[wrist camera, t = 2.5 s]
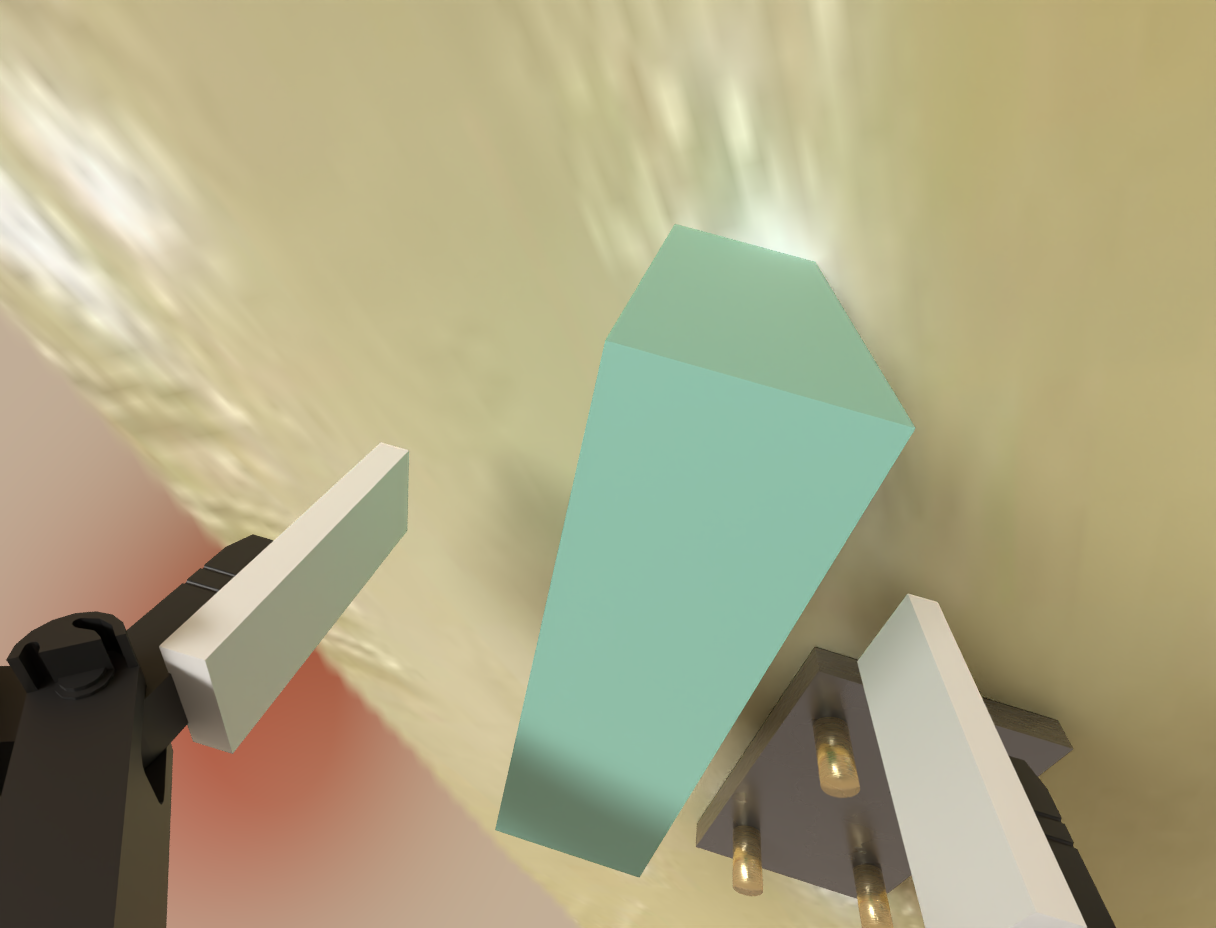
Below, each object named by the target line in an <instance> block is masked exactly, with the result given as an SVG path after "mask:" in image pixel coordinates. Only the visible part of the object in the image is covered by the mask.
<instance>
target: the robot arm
mask: <svg viewBox="0 0 1216 928" xmlns="http://www.w3.org/2000/svg"><path fill="white" fill-rule="evenodd" d="M408 471H409V450H406V449H403V448H399V447H396V446H392V445H389V444H385V443H382V442H380V443H379V444H378V445H377V446H376V447H375V448H374V449H373V450H372V451H371V452H370V453H368V454H367V455H366V456H365V457H364V458H363V459H362V460H361V461H360V462H359V463H358V464H356V465H355V466H354V467H353V468H352V469H351V470H350V471H349V472H348V473H347V474H346V475H345V476H343V477H342V478H341V479H340V480H339V481H338V482H337V483H336V484H335V485H334V486H333V487H331V488H330V489H329V490H328V491H327V492H326V493H325V494H324V495H323V496H322V497H321V498H320V499H318V500H317V501H316V502H315V503H314V504H313V505H312V506H311V507H310V508H309V509H308V510H306V511H305V512H304V513H303V514H302V515H301V516H300V517H299V518H298V519H297V520H296V521H294V522H293V523H292V524H291V525H290V526H289V527H288V528H287V529H286V530H285V531H284V532H283V533H281V534H280V535H279V536H278V537H277V538H276V539H275V540H274V541H273V540H270V539H267V538H263V537H260V536H256V535H250V536H248V537H246V538H244V539H242V540H240V541H238V542H235V543H233V544H231V545H229V546H227V547H225V548H224V549H223V550H221V551H220V552H219V553H218V554H217V555H216V556H214V557H213V558H212V559H211V560H210V561H208V562H207V563H206V564H205V565H204V568H203V569H201V568H200V569H199V570H198V571H197V572H195V573H194V574H193V575H192V576H191V577H189V578H188V579H187V582H186V583H185V584H181V585H180V586H179V587H178V588H177V589H175V590H174V591H173V592H172V593H170V594H169V595H168V596H167V597H166V598H165V599H163V600H162V601H161V602H160V603H159V604H157V605H156V606H155V607H154V608H153V609H152V610H150V611H149V612H148V613H147V614H146V615H144V616H143V617H142V618H141V619H140V620H138V621H137V622H136V623H135V624H134V625H133V626H131V627H130V628H129V629H128V630H127V631H126V629H125V626H124V624H123V622H122V621H120V620H119V619H118V618H116V617H115V616H114V615H111V614H106V613H101V612H85V613H75V614H71V615H68V616H65V617H62V618H58V619H55V620H52V621H50V622H48V623H46V624H44V625H42V626H40V627H38V628H37V629H35V630H33V631H31V632H30V633H29V634H28V635H27V636H25V637H24V638H23V639H22V640H20V641H19V642H18V643H17V644H16V645H15V646H14V648H13V649H12V651H11V653H10V654H9V656H8V658H7V661H8V663H9V665H10V666H0V928H166V919H167V917H166V916H167V891H168V867H169V840H170V816H171V790H172V764H173V763H172V762H173V749H172V745H171V742H172V741H173V739H174V738H175V737H176V736H177V735H178V734H179V733H180V732H181V731H182V729H183V728H184V727H185V726H186V725H188V728H189V731H190V733H191V736H192V739H193V741H194V742H196V743H200V744H203V745H206V746H209V747H213V748H216V749H219V750H222V751H225V752H229V753H232V754H233V753H234V751H235V750H236V749H237V747H238V746H239V745H240V743H241V742H242V741H243V740H244V739H245V737H246V736H247V735H248V733H249V732H250V731H251V730H252V728H253V727H254V726H255V724H256V723H257V722H258V721H259V719H260V718H261V717H262V715H263V714H264V713H265V712H266V710H267V709H268V708H269V706H270V705H271V704H272V703H273V701H274V700H275V699H276V698H277V696H278V695H279V694H280V692H281V691H282V690H283V689H284V687H285V686H286V685H287V683H288V682H289V681H290V680H291V678H292V677H293V676H294V674H295V673H296V672H297V671H298V669H299V668H300V667H301V666H302V664H303V663H304V662H305V660H306V659H307V658H308V657H309V655H310V654H311V653H312V652H313V650H314V649H315V648H316V646H317V645H318V644H319V643H320V641H321V640H322V639H323V638H324V636H325V635H326V634H327V632H328V631H329V630H330V629H331V627H332V626H333V625H334V623H335V622H336V621H337V620H338V618H339V617H340V616H341V614H342V613H343V612H344V611H345V609H346V608H347V607H348V606H349V604H350V603H351V602H352V600H353V599H354V598H355V597H356V595H357V594H358V593H359V591H360V590H361V589H362V588H363V586H364V585H365V584H366V583H367V581H368V580H369V579H370V577H371V576H372V575H373V574H374V572H375V571H376V570H377V568H378V567H379V566H380V565H381V563H382V562H383V561H384V560H385V558H386V557H387V556H388V554H389V553H390V552H391V551H392V549H393V548H394V547H395V545H396V544H397V543H398V542H399V540H400V539H401V538H402V536H403V535H404V534H405V533H406V531H407V518H408ZM857 663H858V667H859V671H860V675H861V679H862V683H863V687H864V691H865V695H866V698H867V702H868V706H869V710H870V714H871V718H872V722H873V726H874V730H875V734H876V737H877V741H878V745H879V749H880V753H881V757H882V761H883V765H884V769H885V773H886V777H887V780H888V784H889V788H890V792H891V796H892V800H893V804H894V808H895V812H896V816H897V819H898V823H899V827H900V831H901V835H902V839H903V843H904V847H905V851H906V855H907V858H908V862H909V866H910V870H911V874H912V878H913V882H914V886H915V890H916V894H917V897H918V901H919V905H920V909H921V913H922V917H923V921H924V925H925V928H1116V927H1115V925H1114V923H1113V921H1112V919H1111V917H1110V915H1109V913H1108V911H1107V909H1106V907H1105V905H1104V903H1103V901H1102V899H1101V897H1100V895H1099V893H1098V891H1097V888H1096V886H1095V884H1094V882H1093V880H1092V878H1091V876H1090V874H1089V872H1088V870H1087V868H1086V866H1085V864H1084V862H1083V860H1082V858H1081V856H1080V854H1079V852H1078V850H1077V849H1076V848H1074V847H1073V843H1074V842H1073V840H1072V838H1071V836H1070V834H1069V832H1068V830H1067V828H1066V826H1065V824H1063V823H1061V819H1062V818H1061V816H1060V814H1059V812H1058V810H1057V808H1056V806H1055V804H1054V802H1053V800H1052V798H1051V796H1050V794H1049V792H1048V790H1047V788H1046V787H1045V785H1044V784H1043V783H1042V782H1041V780H1040V779H1039V778H1038V777H1037V775H1036V774H1035V773H1034V772H1033V770H1032V769H1031V768H1030V767H1029V765H1028V764H1027V763H1026V762H1025V760H1022V759H1018V758H1015V757H1012V756H1008V754H1007V752H1006V749H1005V747H1004V745H1003V743H1002V741H1001V739H1000V736H999V734H998V732H997V730H996V728H995V725H994V723H993V721H992V719H991V717H990V715H989V712H988V710H987V708H986V706H985V704H984V702H983V699H982V697H981V695H980V693H979V691H978V689H977V686H976V684H975V682H974V680H973V678H972V675H971V673H970V671H969V669H968V667H967V665H966V662H965V660H964V658H963V656H962V654H961V652H960V649H959V647H958V645H957V643H956V641H955V638H954V636H953V634H952V632H951V630H950V628H949V625H948V623H947V621H946V619H945V617H944V615H943V612H942V610H941V608H940V606H939V604H938V602H936V601H933V600H929V599H926V598H922V597H919V596H915V595H912V594H907V595H906V596H905V598H904V599H903V600H902V602H901V603H900V604H899V606H898V607H897V608H896V610H895V611H894V613H893V614H892V615H891V617H890V618H889V619H888V621H887V622H886V623H885V625H884V626H883V627H882V629H881V630H880V631H879V633H878V634H877V635H876V637H875V638H874V639H873V641H872V642H871V643H870V645H869V646H868V648H867V649H866V650H865V652H864V653H863V654H862V656H861V657H860V658H859V660H858V661H857Z"/></svg>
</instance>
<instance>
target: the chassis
mask: <svg viewBox="0 0 1216 928" xmlns="http://www.w3.org/2000/svg"><path fill="white" fill-rule="evenodd" d="M857 661H858V660H856V659H853V658H849V657H846V656H843V655H840V654H836V653H833V652H830V651H826V650H823V649H820V648H816V647H815V648H814V649H813V651H812V652H811V654H810V655H809V657H808V658H807V660H806V661H805V663H804V664H803V666H802V667H801V668H800V670H799V671H798V673H797V674H796V676H795V677H794V679H793V680H792V682H791V683H790V685H789V686H788V688H787V689H786V691H785V692H784V694H783V695H782V697H781V698H780V700H779V701H778V703H777V704H776V706H775V707H774V709H773V710H772V712H771V713H770V715H769V716H768V718H767V719H766V721H765V722H764V724H763V725H762V727H761V728H760V730H759V731H758V733H757V734H756V736H755V737H754V739H753V740H752V742H751V743H750V745H749V746H748V748H747V749H746V751H745V752H744V754H743V755H742V757H741V758H740V760H739V761H738V763H737V764H736V766H735V767H734V769H733V770H732V772H731V773H730V775H729V776H728V778H727V779H726V781H725V782H724V784H723V785H722V787H721V788H720V790H719V791H718V793H717V794H716V796H715V797H714V799H713V800H712V802H711V803H710V805H709V806H708V808H707V809H706V811H705V812H704V814H703V815H702V817H701V818H700V820H699V821H698V823H697V834H696V847H698V848H702V849H705V850H708V851H711V852H714V853H717V854H720V855H723V856H726V857H730V858H733V888H734V889H735V890H736V891H737V892H739V893H741V894H744V895H748V896H757V895H760V894H762V893H763V879H762V868H764V869H767V870H770V871H773V872H776V873H779V874H782V875H785V876H788V877H792V878H795V879H798V880H801V881H804V882H807V883H810V884H813V885H816V886H819V887H823V888H826V889H829V890H832V891H835V892H838V893H841V894H844V895H847V896H850V897H854V898H857V899H858V906H859V912H860V918H861V924H862V928H893V923H892V918H891V913H890V908H889V903H888V898H887V893H889V892H890V891H891V890H893V889H894V888H895V887H896V886H898V885H899V884H900V883H902V882H903V881H904V880H905V879H907V878H908V877H909V876H911V875H912V874H911V870H910V866H909V862H908V858H907V855H906V851H905V847H904V843H903V839H902V835H901V831H900V827H899V823H898V819H897V816H896V812H895V808H894V804H893V800H892V796H891V792H890V788H889V784H888V780H887V777H886V773H885V769H884V765H883V761H882V757H881V753H880V749H879V745H878V741H877V737H876V734H875V730H874V726H873V722H872V718H871V714H870V710H869V706H868V702H867V698H866V695H865V691H864V687H863V683H862V679H861V675H860V671H859V667H858V663H857ZM982 699H983V702H984V704H985V706H986V708H987V710H988V712H989V715H990V717H991V719H992V721H993V723H994V725H995V728H996V730H997V732H998V734H999V736H1000V739H1001V741H1002V743H1003V745H1004V747H1005V749H1006V752H1007V754H1008V756H1012V757H1015V758H1018V759H1022V760H1025V762H1026V763H1027V764H1028V765H1029V767H1030V768H1031V769H1032V770H1033V772H1034V773H1035V774H1036V775H1037V777H1038V776H1039V775H1041V774H1042V773H1043V772H1044V771H1046V770H1047V769H1048V768H1050V767H1051V766H1052V765H1053V764H1055V763H1056V762H1057V761H1059V760H1060V759H1061V758H1062V757H1064V756H1065V755H1066V754H1068V753H1069V752H1070V751H1071V750H1073V747H1072V746H1071V744H1070V742H1069V740H1068V738H1067V737H1066V735H1065V733H1064V731H1063V729H1062V727H1061V726H1060V724H1059V722H1058V721H1057V720H1054V719H1051V718H1047V717H1044V716H1041V715H1038V714H1034V713H1031V712H1028V711H1024V710H1021V709H1018V708H1014V707H1011V706H1008V705H1005V704H1001V703H998V702H995V701H991V700H988V699H985V698H982Z"/></svg>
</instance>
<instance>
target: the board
mask: <svg viewBox="0 0 1216 928" xmlns="http://www.w3.org/2000/svg"><path fill="white" fill-rule="evenodd" d="M914 430H915V427H914V425H913V423H912V422H911V420H910V418H909V417H908V415H907V413H906V412H905V410H904V408H903V407H902V405H901V403H900V402H899V400H898V398H897V397H896V395H895V393H894V392H893V390H892V388H891V387H890V385H889V384H888V382H887V380H886V379H885V377H884V375H883V374H882V372H881V370H880V369H879V367H878V365H877V364H876V362H875V360H874V359H873V357H872V355H871V354H870V352H869V350H868V349H867V347H866V345H865V344H864V342H863V340H862V339H861V337H860V335H859V334H858V332H857V330H856V329H855V327H854V326H853V324H852V322H851V321H850V319H849V317H848V316H847V314H846V312H845V311H844V309H843V307H842V306H841V304H840V302H839V301H838V299H837V297H836V296H835V294H834V292H833V291H832V289H831V287H830V286H829V284H828V282H827V281H826V279H825V277H824V276H823V274H822V273H821V271H820V269H819V268H818V266H817V264H816V263H815V262H813V261H810V260H806V259H802V258H799V257H795V256H791V255H788V254H784V253H780V252H777V251H773V250H769V249H766V248H762V247H758V246H754V245H751V244H747V243H743V242H740V241H736V240H732V239H729V238H725V237H721V236H718V235H714V234H710V233H707V232H703V231H699V230H696V229H692V228H688V227H685V226H681V225H677V224H675V225H674V226H673V228H672V230H671V231H670V233H669V235H668V236H667V238H666V240H665V241H664V243H663V245H662V246H661V248H660V250H659V252H658V253H657V255H656V257H655V258H654V260H653V262H652V263H651V265H650V267H649V268H648V270H647V272H646V273H645V275H644V277H643V278H642V280H641V282H640V283H639V285H638V287H637V288H636V290H635V292H634V293H633V295H632V297H631V298H630V300H629V302H628V303H627V305H626V307H625V308H624V310H623V312H622V313H621V315H620V317H619V318H618V320H617V322H616V323H615V325H614V327H613V328H612V330H611V332H610V333H609V335H608V337H607V338H606V340H605V344H604V349H603V353H602V358H601V362H600V367H599V371H598V376H597V380H596V384H595V389H594V393H593V398H592V402H591V407H590V411H589V416H588V420H587V424H586V429H585V433H584V438H583V442H582V447H581V451H580V456H579V460H578V464H577V469H576V473H575V478H574V482H573V487H572V491H571V496H570V500H569V504H568V509H567V513H566V518H565V522H564V527H563V531H562V536H561V540H560V544H559V549H558V553H557V558H556V562H555V567H554V571H553V576H552V580H551V584H550V589H549V593H548V598H547V602H546V607H545V611H544V616H543V620H542V624H541V629H540V633H539V638H538V642H537V647H536V651H535V656H534V660H533V664H532V669H531V673H530V678H529V682H528V687H527V691H526V696H525V700H524V704H523V709H522V713H521V718H520V722H519V727H518V731H517V736H516V740H515V744H514V749H513V753H512V758H511V762H510V767H509V771H508V775H507V780H506V784H505V789H504V793H503V798H502V802H501V807H500V811H499V815H498V820H497V824H496V829H495V830H497V831H500V832H503V833H506V834H509V835H512V836H515V837H518V838H521V839H524V840H527V841H530V842H533V843H536V844H539V845H542V846H545V847H548V848H551V849H554V850H557V851H560V852H563V853H566V854H569V855H573V856H576V857H579V858H582V859H585V860H588V861H591V862H594V863H597V864H600V865H603V866H606V867H609V868H612V869H615V870H618V871H621V872H624V873H627V874H630V875H633V876H636V877H640V876H641V874H642V872H643V871H644V869H645V867H646V866H647V864H648V863H649V861H650V859H651V858H652V856H653V854H654V853H655V851H656V850H657V848H658V846H659V845H660V843H661V841H662V840H663V838H664V837H665V835H666V833H667V832H668V830H669V828H670V827H671V825H672V824H673V822H674V820H675V819H676V817H677V815H678V814H679V812H680V811H681V809H682V807H683V806H684V804H685V802H686V801H687V799H688V798H689V796H690V794H691V793H692V791H693V789H694V788H695V786H696V785H697V783H698V781H699V780H700V778H701V776H702V775H703V773H704V771H705V770H706V768H707V767H708V765H709V763H710V762H711V760H712V758H713V757H714V755H715V754H716V752H717V750H718V749H719V747H720V745H721V744H722V742H723V741H724V739H725V737H726V736H727V734H728V732H729V731H730V729H731V728H732V726H733V724H734V723H735V721H736V719H737V718H738V716H739V715H740V713H741V711H742V710H743V708H744V706H745V705H746V703H747V702H748V700H749V698H750V697H751V695H752V693H753V692H754V690H755V689H756V687H757V685H758V684H759V682H760V680H761V679H762V677H763V676H764V674H765V672H766V671H767V669H768V667H769V666H770V664H771V663H772V661H773V659H774V658H775V656H776V654H777V653H778V651H779V650H780V648H781V646H782V645H783V643H784V641H785V640H786V638H787V636H788V635H789V633H790V632H791V630H792V628H793V627H794V625H795V623H796V622H797V620H798V619H799V617H800V615H801V614H802V612H803V610H804V609H805V607H806V606H807V604H808V602H809V601H810V599H811V597H812V596H813V594H814V593H815V591H816V589H817V588H818V586H819V584H820V583H821V581H822V580H823V578H824V576H825V575H826V573H827V571H828V570H829V568H830V567H831V565H832V563H833V562H834V560H835V558H836V557H837V555H838V554H839V552H840V550H841V549H842V547H843V545H844V544H845V542H846V541H847V539H848V537H849V536H850V534H851V532H852V531H853V529H854V528H855V526H856V524H857V523H858V521H859V519H860V518H861V516H862V514H863V513H864V511H865V510H866V508H867V506H868V505H869V503H870V501H871V500H872V498H873V497H874V495H875V493H876V492H877V490H878V488H879V487H880V485H881V484H882V482H883V480H884V479H885V477H886V475H887V474H888V472H889V471H890V469H891V467H892V466H893V464H894V462H895V461H896V459H897V458H898V456H899V454H900V453H901V451H902V449H903V448H904V446H905V445H906V443H907V441H908V440H909V438H910V436H911V435H912V433H913V432H914Z"/></svg>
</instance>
